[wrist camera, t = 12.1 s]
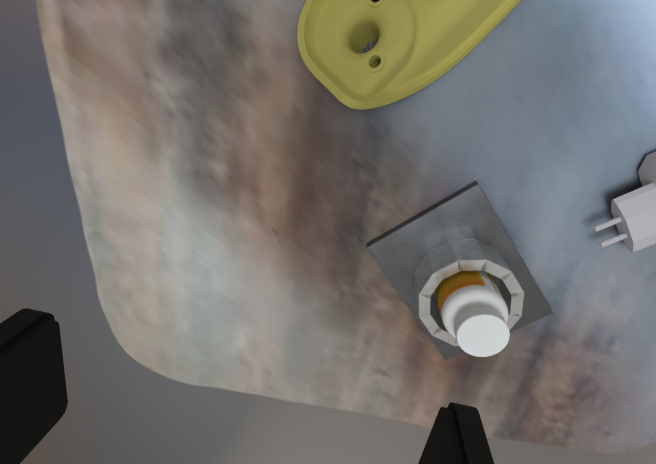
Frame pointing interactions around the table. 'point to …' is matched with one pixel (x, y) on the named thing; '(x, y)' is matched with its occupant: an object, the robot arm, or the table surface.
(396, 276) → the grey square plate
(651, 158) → the charger
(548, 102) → the table surface
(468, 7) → the plastic component
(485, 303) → the supplement bottle
